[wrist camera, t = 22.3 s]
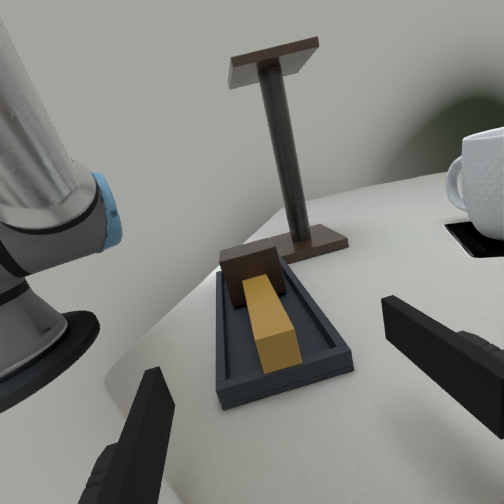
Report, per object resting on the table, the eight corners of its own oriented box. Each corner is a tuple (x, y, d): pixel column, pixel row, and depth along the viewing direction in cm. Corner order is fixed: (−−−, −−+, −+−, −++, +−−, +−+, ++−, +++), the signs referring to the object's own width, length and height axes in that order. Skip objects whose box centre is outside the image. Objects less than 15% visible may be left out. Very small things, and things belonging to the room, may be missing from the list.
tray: (354, 370, 20) (351, 349, 20) (222, 410, 20) (215, 390, 19) (282, 265, 43) (279, 254, 42) (219, 283, 42) (216, 272, 41)
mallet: (328, 355, 20) (313, 283, 18) (238, 382, 19) (215, 311, 18) (277, 276, 38) (267, 237, 37) (231, 289, 38) (219, 250, 36)
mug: (419, 230, 42) (416, 146, 38) (476, 212, 44) (479, 129, 40) (531, 256, 28) (545, 128, 24) (609, 228, 30) (635, 103, 26)
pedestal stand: (348, 246, 43) (320, 32, 33) (279, 266, 43) (230, 53, 33) (321, 231, 54) (294, 67, 45) (266, 246, 54) (227, 83, 44)
